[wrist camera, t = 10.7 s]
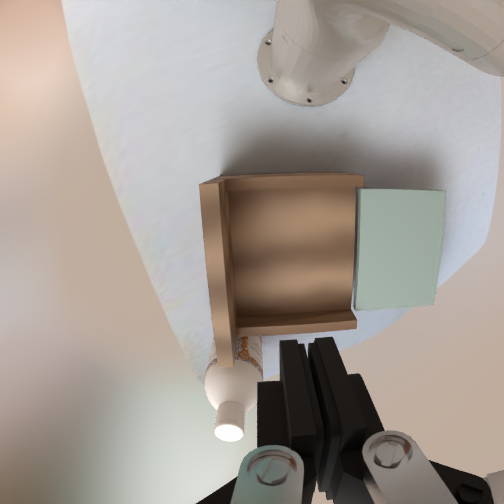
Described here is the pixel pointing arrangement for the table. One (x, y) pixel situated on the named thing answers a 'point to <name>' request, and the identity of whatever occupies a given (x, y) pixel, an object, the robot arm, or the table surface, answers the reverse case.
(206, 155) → the table surface
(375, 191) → the panel
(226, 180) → the tray
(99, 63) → the table surface
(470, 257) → the table surface
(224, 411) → the bath foam
